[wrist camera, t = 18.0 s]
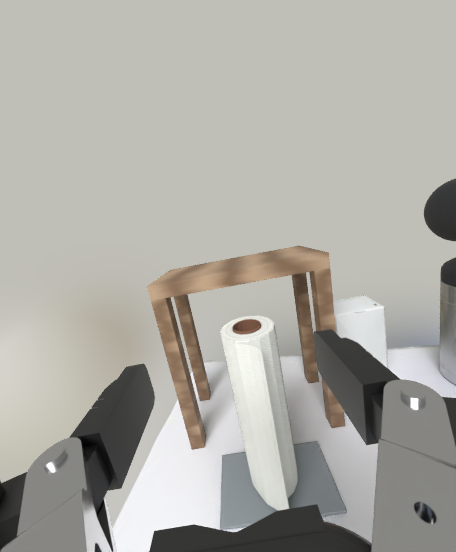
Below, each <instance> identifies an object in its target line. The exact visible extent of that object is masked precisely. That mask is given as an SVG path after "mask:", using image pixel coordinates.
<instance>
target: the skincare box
mask: <svg viewBox="0 0 456 552" xmlns="http://www.w3.org/2000/svg"><path fill="white" fill-rule="evenodd" d="M333 305H334V316H335V326H336V334H337V335H338V336H339V337H340V338H349V339H351V340H353V341H355V342H358V343H359V344H360V345H361V346H362V347H363V348H365V349H366V351H368V352H369V353H370V354H371V355H373V357H375V358H376V359H377V360H378V361H380V362H381V363H382V364H383V365H384V366H385V367H387V368H388V365H387V347H386V330H385V307H384V306H382V305H381V304H379V303H377V302H375V301H373V300H371V299H369V298H368V297H366V296H364V295H363V296H358V297H352V298H347V299H341V300H336V301H333Z"/></svg>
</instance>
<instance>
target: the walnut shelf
mask: <svg viewBox="0 0 456 552" xmlns="http://www.w3.org/2000/svg"><path fill="white" fill-rule="evenodd" d="M306 272H310V280H311V288H312V298H313V306H314V315H315V324H316V331H321V330H327V329H332V330H333V331H334V332H335V333H336V326H335V316H334V305H333V295H332V285H331V274H330V262H329V253H328V252H323V251H319V250H315V249H311V248H306V247H302V246H295V247H290V248H284V249H279V250H274V251H269V252H263V253H258V254H253V255H248V256H242V257H237V258H231V259H226V260H221V261H216V262H210V263H205V264H200V265H194V266H189V267H183V268H178V269H173V270H170V271H168V272H167V273H165V274H164V275H163V276H161V277H160V278H158V279H157V280H156V281H154V282H153V283H151V284H150V285H148V286H147V288H148V292H149V295H150V299H151V302H152V306H153V310H154V313H155V317H156V321H157V324H158V328H159V331H160V335H161V339H162V342H163V346H164V350H165V353H166V357H167V361H168V364H169V368H170V372H171V375H172V379H173V382H174V386H175V390H176V393H177V397H178V401H179V404H180V408H181V411H182V415H183V419H184V422H185V426H186V430H187V433H188V437H189V440H190V444H191V448H192V449H198V448H204V446H205V437H206V435H205V431H204V427H203V423H202V420H201V416H200V412H199V408H198V404H197V400H196V396H195V392H194V388H193V384H192V380H191V376H190V373H189V369H188V365H187V361H186V357H185V353H184V349H183V345H182V341H181V338H180V334H179V329H178V326H177V322H176V318H175V314H174V310H173V306H172V302H171V298H170V297H174V299H175V303H176V307H177V311H178V315H179V319H180V323H181V327H182V331H183V335H184V339H185V343H186V347H187V351H188V355H189V359H190V363H191V367H192V371H193V375H194V379H195V383H196V387H197V391H198V395H199V399H200V401H202V400H208V399H210V388H209V384H208V380H207V375H206V371H205V367H204V363H203V359H202V354H201V350H200V346H199V342H198V338H197V333H196V329H195V325H194V321H193V317H192V312H191V308H190V304H189V300H188V295H187V294H190V293H195V292H201V291H206V290H212V289H217V288H223V287H228V286H234V285H239V284H245V283H250V282H256V281H261V280H267V279H272V278H277V277H283V276H288V275H292V280H293V288H294V296H295V303H296V310H297V319H298V325H299V334H300V341H301V349H302V357H303V364H304V372H305V377H306V379H307V381H308V383H313V382H319V380H318V372H317V363H316V355H315V346H314V338H313V329H312V321H311V312H310V304H309V295H308V287H307V279H306ZM321 377H322V376H321ZM322 385H323V394H324V403H325V412H326V418H327V420H328V422H329V424H330V426H331V427H332V428H335V427H342V426H345V422H344V411H343V408H342V407H341V405H340V404H339V402H338V401H337V399H336V398H335V396H334V394H333V393H332V391H331V390H330V388H329V387H328V385H327V384H326V382H325V381H324V379H323V378H322Z"/></svg>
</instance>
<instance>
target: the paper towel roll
mask: <svg viewBox="0 0 456 552" xmlns="http://www.w3.org/2000/svg"><path fill="white" fill-rule="evenodd" d="M220 334H221V338H222V343H223V348H224V352H225V357H226V362H227V366H228V371H229V376H230V380H231V385H232V390H233V395H234V399H235V404H236V409H237V413H238V418H239V423H240V427H241V432H242V437H243V441H244V446H245V451H246V455H247V460H248V465H249V469H250V474H251V479H252V483H253V486H254V487H255V489H256V490H257V491H258V493H259V494H260V496H261V497H262V498H263V500H264V501H265V502H266V503H267V504H268V505H269V506H271V507H273V508H275V509H276V510H278V511H279V510H285V509H289V504H288V498H289V497H290V496H291V495H292V494H293V493H294V491H295V488H296V485H297V482H298V474H297V465H296V459H295V453H294V446H293V440H292V433H291V427H290V421H289V414H288V408H287V401H286V395H285V389H284V382H283V376H282V369H281V363H280V357H279V350H278V344H277V337H276V331H275V325H274V322H273V321H272V320H271V319H269V318H267V317H264V316H245V317H241V318H237V319H234V320H232V321H229V322H228V323H227V324H225V325H224V326H223V327H222V329H221V330H220Z"/></svg>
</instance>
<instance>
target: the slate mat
mask: <svg viewBox="0 0 456 552" xmlns="http://www.w3.org/2000/svg"><path fill="white" fill-rule="evenodd" d="M293 446H294V453H295V459H296V465H297V474H298V482H297V485H296V488H295V491H294V493H293V494H292V495H291V496H290V497H289V498H288V504H289V509H291V508H297V507H303V506H309V505H315V504H317V505H318V508H319V511H320V514H321V516H328V515H336V514H343V513H346V509H345V507H344V504H343V502H342V500H341V497H340V495H339V492H338V490H337V488H336V485H335V483H334V480H333V478H332V476H331V473H330V471H329V468H328V466H327V464H326V461H325V459H324V456H323V454H322V452H321V449H320V447H319V444H318V442H317V441H315V442H308V443H301V444H295V445H293ZM276 511H278V510H276V509H275V508H273V507H271V506H269V505H268V504H267V503H266V502H265V501H264V500H263V498H262V497H261V496H260V494H259V493H258V491H257V490H256V489H255V487H254V486H253V483H252V479H251V474H250V469H249V465H248V460H247V455H246V452H242V453H235V454H229V455H222V482H221V517H220V529H221V530H226V529H233V528H240V527H248V526H250V525H252V524H253V523H255V522H257V521H259V520H261V519H263V518H264V517H266V516H268V515H270V514H272V513H274V512H276Z"/></svg>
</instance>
